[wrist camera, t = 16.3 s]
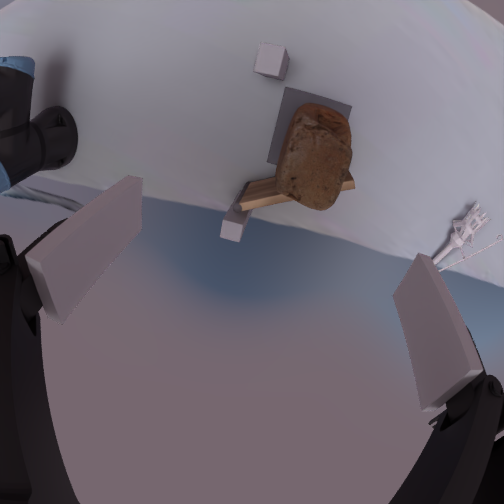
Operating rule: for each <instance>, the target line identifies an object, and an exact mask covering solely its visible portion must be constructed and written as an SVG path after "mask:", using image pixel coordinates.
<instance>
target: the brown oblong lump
mask: <svg viewBox="0 0 504 504" xmlns="http://www.w3.org/2000/svg"><path fill="white" fill-rule="evenodd" d="M351 159H352V149H351V132H350V127H349V123H348V121H347V119H346V118H345V117H344V116H343V115H342V114H341V113H339V112H338V111H336V110H334V109H331V108H329V107H326V106H323V105H319V104H315V103H305V104H303V105H302V106H300V107H299V108H298V109H297V110H296V112H295V113H294V115H293V117H292V120H291V122H290V124H289V127H288V130H287V133H286V136H285V139H284V142H283V145H282V148H281V152H280V155H279V159H278V163H277V168H276V173H275V178H276V182H275V187H276V191H278V192H279V193H280V194H282V195H284V196H286V197H289V198H291V199H293V200H295V201H297V202H299V203H300V204H302V205H304V206H307V207H309V208H311V209H316V210H320V211H321V210H326V209H328V208H330V207H331V206H332V205H333V204H334V203H335V201H336V199H337V197H338V195H339V193H340V191H341V188H342V185H343V182H344V180H345V178H346V175H347V172H348V170H349V166H350V162H351Z"/></svg>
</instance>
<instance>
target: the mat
mask: <svg viewBox="0 0 504 504" xmlns="http://www.w3.org/2000/svg"><path fill="white" fill-rule="evenodd" d="M305 103H315V104H319V105H323V106H326V107H329V108H331V109H334V110H336V111H338V112H339V113H341V114H342V115H343V116H344V117H345V118H346V119H347V121H348V118H349V115H350V112H351V108H352V106H349V105H346V104H343V103H340V102H337V101H334V100H331V99H328V98H325V97H321V96H318V95H315V94H311V93H308V92H304V91H300V90H296V89H293V88H289V87H285V91H284V95H283V99H282V103H281V107H280V111H279V115H278V119H277V123H276V127H275V131H274V135H273V139H272V143H271V147H270V151H269V155H268V159H267V162H268V163H272V164H276V165H277V163H278V159H279V155H280V152H281V148H282V145H283V142H284V139H285V136H286V133H287V130H288V127H289V124H290V122H291V120H292V117H293V115H294V113H295V112H296V110H297V109H298V108H299V107H300V106H302V105H303V104H305Z"/></svg>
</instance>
